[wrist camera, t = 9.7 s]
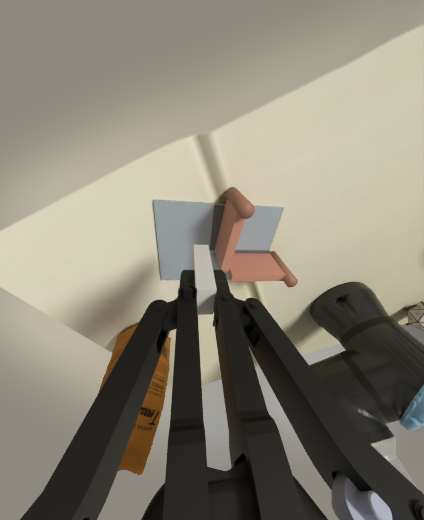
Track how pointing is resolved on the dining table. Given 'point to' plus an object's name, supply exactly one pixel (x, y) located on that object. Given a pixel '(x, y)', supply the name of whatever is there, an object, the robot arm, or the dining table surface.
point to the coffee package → (143, 407)
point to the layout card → (205, 232)
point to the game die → (416, 316)
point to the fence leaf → (232, 226)
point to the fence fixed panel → (258, 268)
